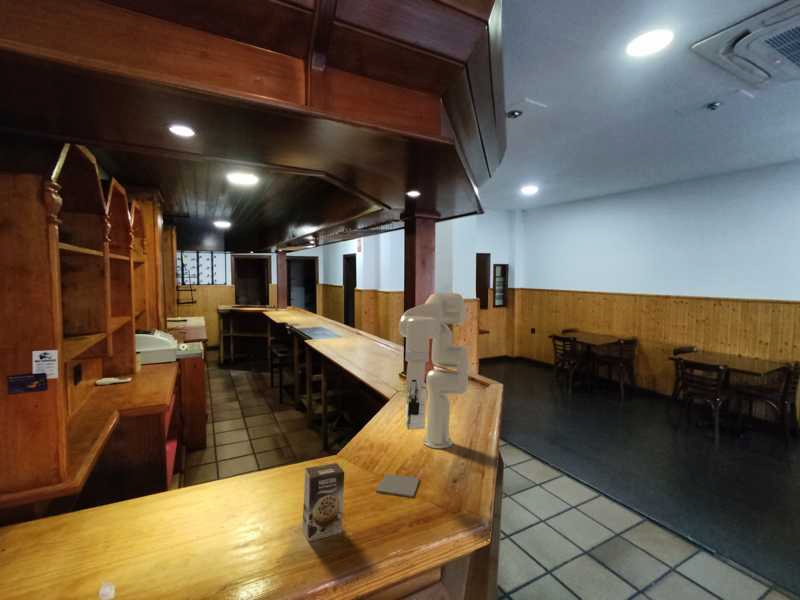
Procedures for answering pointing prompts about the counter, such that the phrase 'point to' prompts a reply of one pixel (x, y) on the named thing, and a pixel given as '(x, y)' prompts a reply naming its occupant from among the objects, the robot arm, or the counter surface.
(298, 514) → the counter surface
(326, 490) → the cookie box
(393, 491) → the mat
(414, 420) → the syrup box
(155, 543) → the counter surface
